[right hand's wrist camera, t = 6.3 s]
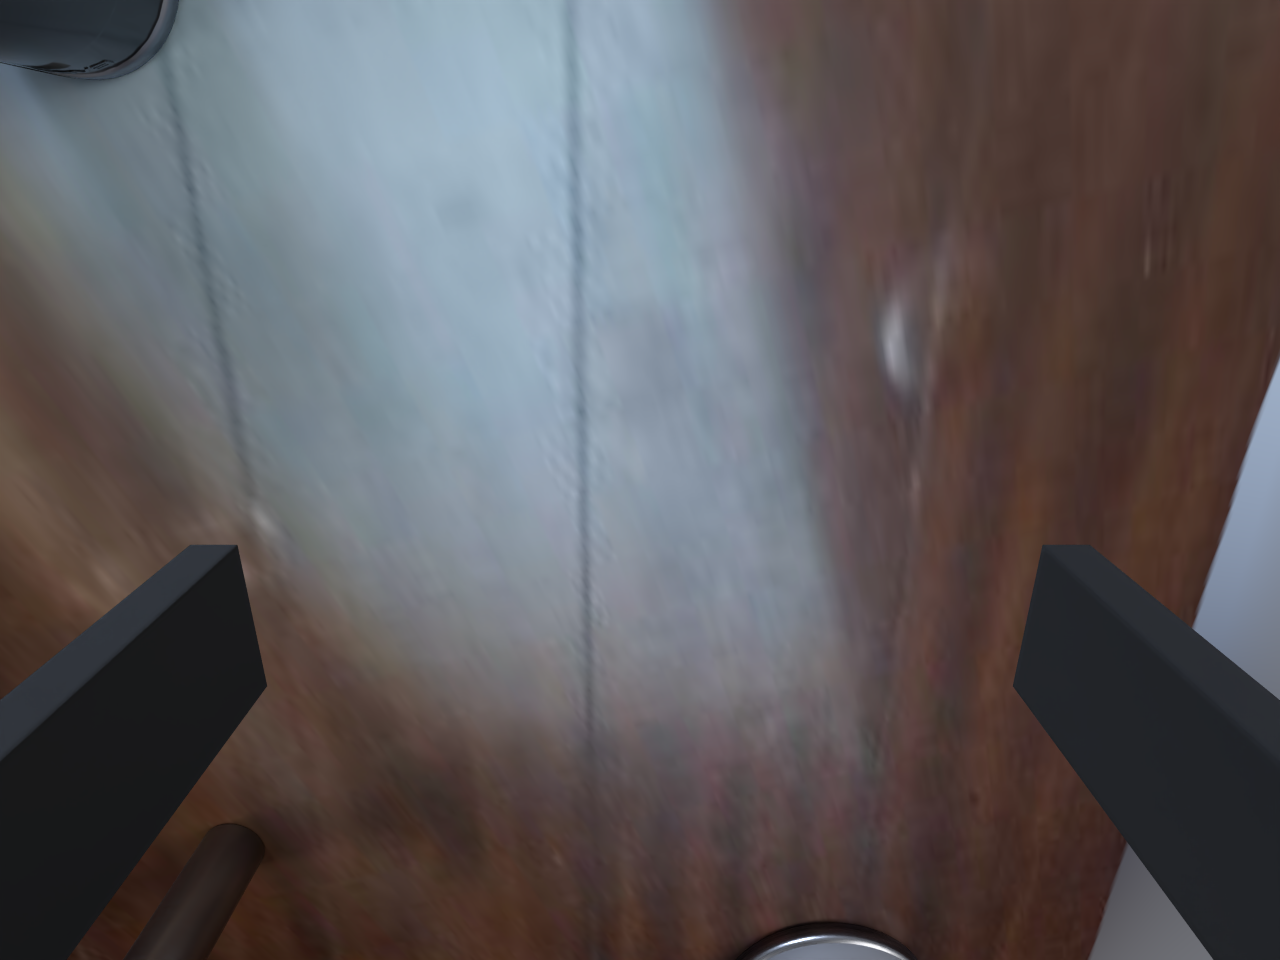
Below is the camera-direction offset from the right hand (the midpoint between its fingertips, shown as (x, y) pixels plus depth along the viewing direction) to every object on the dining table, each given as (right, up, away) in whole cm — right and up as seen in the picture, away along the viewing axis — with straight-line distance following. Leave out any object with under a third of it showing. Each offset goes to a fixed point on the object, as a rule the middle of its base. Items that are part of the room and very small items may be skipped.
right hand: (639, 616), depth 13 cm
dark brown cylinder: (-27, -22, +39) cm, 52 cm away
